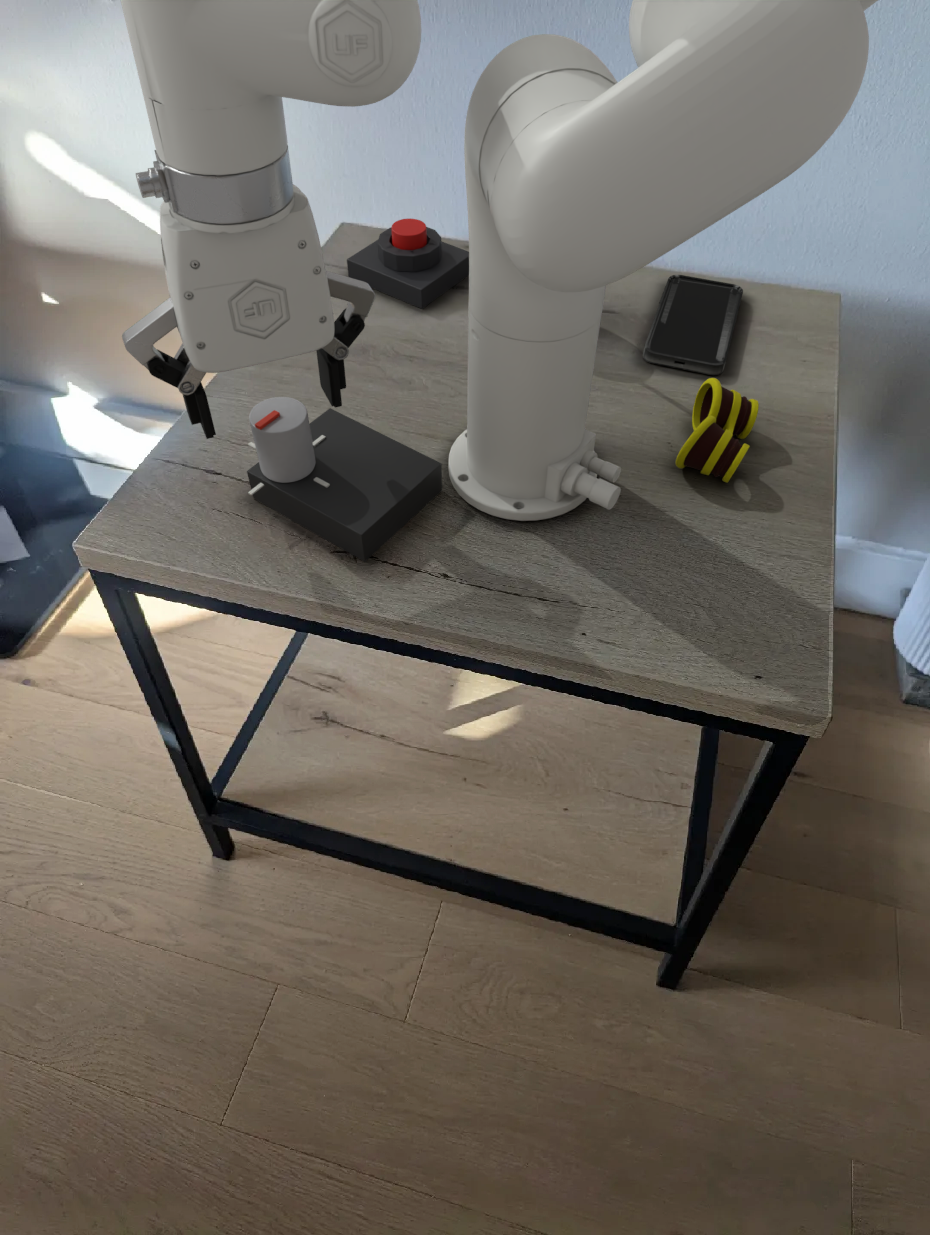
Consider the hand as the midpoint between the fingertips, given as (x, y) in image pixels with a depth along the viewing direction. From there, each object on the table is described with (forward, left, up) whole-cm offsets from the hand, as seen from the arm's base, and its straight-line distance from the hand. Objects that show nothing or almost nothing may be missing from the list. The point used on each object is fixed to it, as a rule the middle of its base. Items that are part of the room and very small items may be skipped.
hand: (270, 411), depth 65 cm
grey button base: (+13, -33, -8) cm, 36 cm away
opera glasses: (-26, -26, -9) cm, 38 cm away
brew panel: (-3, -2, -8) cm, 9 cm away
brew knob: (0, 0, -5) cm, 5 cm away
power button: (+13, -33, -5) cm, 36 cm away
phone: (-16, -42, -8) cm, 46 cm away
